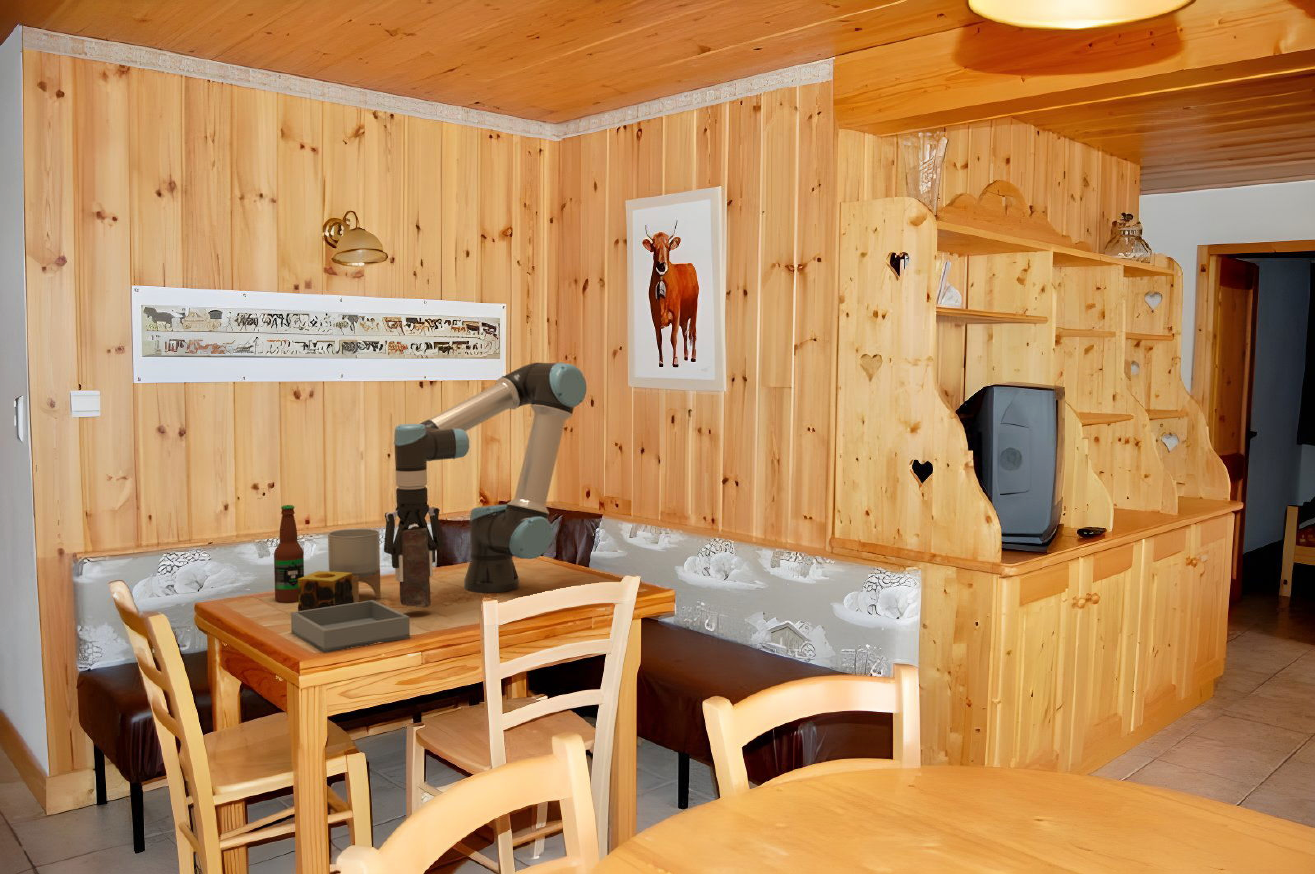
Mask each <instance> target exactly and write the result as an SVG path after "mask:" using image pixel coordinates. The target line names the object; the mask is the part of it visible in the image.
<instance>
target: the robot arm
mask: <svg viewBox="0 0 1315 874" xmlns="http://www.w3.org/2000/svg"><path fill="white" fill-rule="evenodd" d="M583 374H584V373H583V372H582V371H581V369H580V368H578V367H577V366H576V365H573V364H571V363H566V362H533V363H532V362H531V363H528V364H526V365H524V366H521V367H519V368H517V369H515V370H513V371H511V372H509V373H507V374H505V375H503V376H501V377H499V378H498V379H497V380H496V382H495V384H494V385H492V386H490V387H488V388H486V389H484V390H483V391H481V392H479V393H477V394H475V395H473V396H471V397H469V398H467V399H464V400H463V401H461V402H459V403H458V404H455V405H454V406H452V407H450V408H447V409H446V410H444V411H442V412H440V413H439V414H436V415H434V416H433V417H430V418H429V419H426V420H425V421H422V422H420V423H402V424H398V425H397V426H396V427H394V428H395V429H394V435H393V437H394V438H393V439H394V441H393V445H394V462H395V463H394V464H395V465H394V466H395V486H396V487H397V488H396V489H395V491H396V492H395V494H396V495H395V496H396V497H395V499H396V507H395V510H394V511H391V512H385V513H384V518H385V522H386V523H385V533H384V543H383V553H385V554H389V555H391V567H392V568H393V569H395V570H394V571H395V572H394V573H395V581H397V582H399V583H400V582H403V555H400V554H399V553H400V550H401V547H402V531H404V530H407V529H409V528H410V526H412V525H417V526H419V528H427V536H428V558H429V578H433V577H434V573H433V572H434V571H433V570H434V568H433V566H434V565H433V563H435V562H436V551H438V548H441V547H442V546H443V539H442V534H441V533H442V532H441V527H440V519H439V516H440V509H439V508H438V507H434V506H432V507H430V506H429V505H428V497H429V496H428V488H427V487H426V486H427V485H428V470H427V469H428V462H431V461H442V460H443V461H444V460H452V459H453V460H456V459H459V458H460V459H461V458H464V457H465V456H466V455H467V454H468V452H469V449H470V438H469V436H468V433H467V431H470V430H471V429H473V428H475V427H476V426H478V425H480V424H483V423H484V422H486V421H488V420H489V419H491V418H494V417H495V416H497V415H500V414H501V413H503V412H505V411H506V410H516V409H518V408H520V407H522V406H526V405H530V408H531V409H532V411H533V414H534V415H533V418H532V424H531V428H530V432H529V437H528V441H527V444H526V449H525V453H524V457H523V460H522V465H521V469H520V474H519V478H518V483H517V487H516V491H515V495H514V498H513V499H512V500H511V501H508V502H507V503H506V504H492V505H483V506H477V507H473V508H472V509H471V510H470V513H469V514H470V515H469V532H470V533H469V534H470V535H469V536H470V538H469V539H470V540H469V541H470V543H469V544H470V547H469V549H470V550H469V551H470V553H469V554H470V561H469V564H468V566H467V570H466V574H465V577H464V589H465V590H466V591H469V592H475V593H483V594H484V593H485V594H489V593H490V594H491V593H493V594H494V593H495V594H496V593H504V592H511V591H513V590H517V589H518V588H519V587H520V579H519V576H518V571H517V569H516V566H515V563H514V559H513V557H515V558H517V559H520V560H521V559H524V560H525V559H526V560H533V559H536V558H539V557H540V556H541V555H543V554H545V553H546V552H547V550H548V549H549V547H550V546H551V544H552V541H553V535H554V531H553V528H552V525H551V522H550V521H549V517H550V516H549V515H550V512H549V510H548V508H547V506H546V503H547V499H548V495H549V491H550V486H551V482H552V478H553V474H554V470H555V466H556V460H557V458H558V453H559V449H560V444H561V440H562V437H563V430H564V427H565V423H566V421H567V420H568V419H570V418H571V417H573V412H574V408H576V407H577V406H579V405H580V403H583V402H584V399H585V398H586V396H587V388H588V387H587V381H586V377H585V376H584V375H583ZM427 515H428V516H429V522H430V529H431V531H430V529H429V527H428V522H427V520H426V516H427ZM397 517H398V519H399V521H398V524H397V529H396V520H397ZM395 529H396V530H397V531H396V533H395ZM398 531H401V533H399V532H398ZM487 592H488V593H487Z"/></svg>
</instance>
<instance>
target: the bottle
mask: <svg viewBox="0 0 1315 874" xmlns="http://www.w3.org/2000/svg"><path fill="white" fill-rule="evenodd" d="M280 509H281V513H280V514H281V515H282V516H281V521H280V524H279V525H280V526H279V542H278V545H277V547H276V548H275V549H274V553H273V565H274V568H273V569H274V573H273V574H274V599H275V601H276V602H277V603H283V604H290V603H299V594H298V592H299V585H298V579H299V578H302V577H304V576H305V561H304V559H305V556H304V555H305V554H304V549H303V548H302V546H301V544H300V543H299V541H298V529H297V528H298V527H297V522H296V517H295V516H294V514H295V513H296V512H295V510H294V509H295V505H293V504H285V505H282V506H281V507H280Z"/></svg>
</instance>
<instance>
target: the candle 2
mask: <svg viewBox="0 0 1315 874" xmlns="http://www.w3.org/2000/svg"><path fill="white" fill-rule="evenodd" d="M398 532H399V533H401V531H398ZM399 554H400V555H403V582H399V599H400V600H399V601H400V602H399V603H400V604H401V605H402V606H406V607H415V608H425V609H426V608H429V607H430V606H431V605H432V604H431V603H432V602H431V581H430V578H431V577H429V558H428V536H427V528H419V526H418V525H417V526H416V525H415V526H412V527H409V528H408V529H407V530H404V531H402V547H401V550H400V553H399Z"/></svg>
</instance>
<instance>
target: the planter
mask: <svg viewBox="0 0 1315 874" xmlns="http://www.w3.org/2000/svg"><path fill="white" fill-rule="evenodd" d="M380 537H381V536H380V531H379V530H377V529H373V528H358V527H357V528H355V527H354V528H343V529H342V528H341V529H336V530H332V531H329V532H328V534H327V548H328V549H327V552H328V553H327V554H328V571H330V572H349V573H353V578H352V580H353V583H352V585H353V596H354V598H353V599H354V603H356V602H360V586H359V585H360V584H359V583H360V582H361V583H365V584H366V585H368V586H369V587H370V588H371V589H372V590H373V592H374V595H375V596H374V598H375V599H381V597H382V596H381V554H380V553H381V552H380V551H381V550H380V549H381V548H380V547H381V546H380V545H381V543H380Z"/></svg>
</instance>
